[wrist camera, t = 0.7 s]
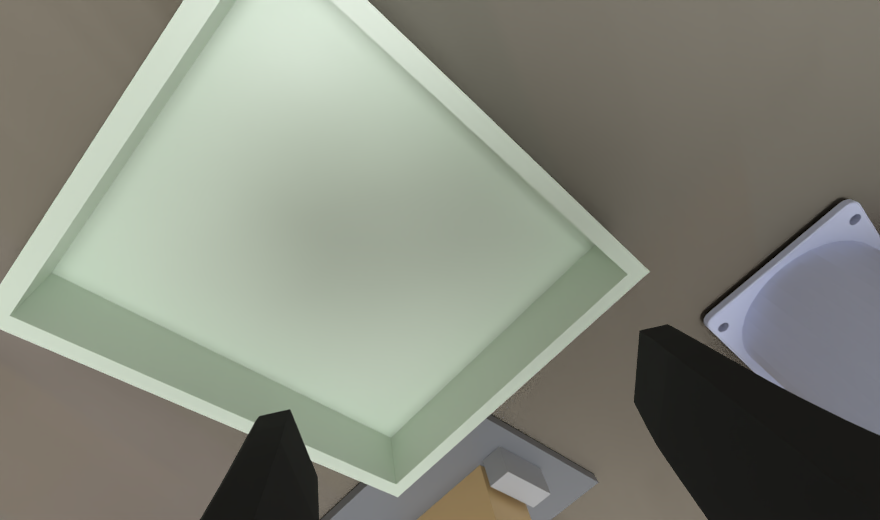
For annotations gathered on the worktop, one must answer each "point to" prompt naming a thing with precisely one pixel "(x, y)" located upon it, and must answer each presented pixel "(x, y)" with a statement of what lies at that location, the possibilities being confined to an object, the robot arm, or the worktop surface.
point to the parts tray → (313, 240)
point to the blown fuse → (476, 502)
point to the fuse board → (508, 470)
